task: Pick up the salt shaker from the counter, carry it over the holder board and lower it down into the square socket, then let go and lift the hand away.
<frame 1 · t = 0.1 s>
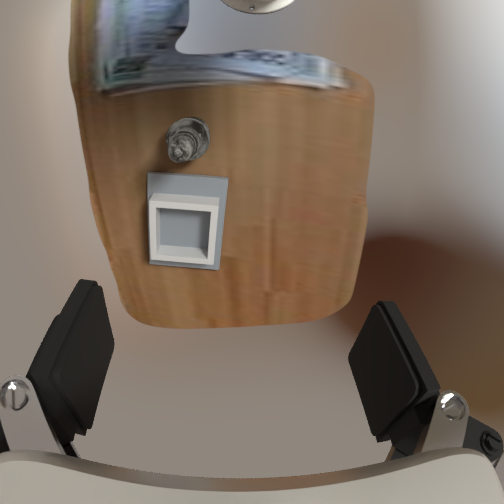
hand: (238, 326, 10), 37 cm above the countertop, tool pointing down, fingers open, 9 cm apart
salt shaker: (191, 134, 41), on the countertop
holder: (185, 221, 48), on the countertop
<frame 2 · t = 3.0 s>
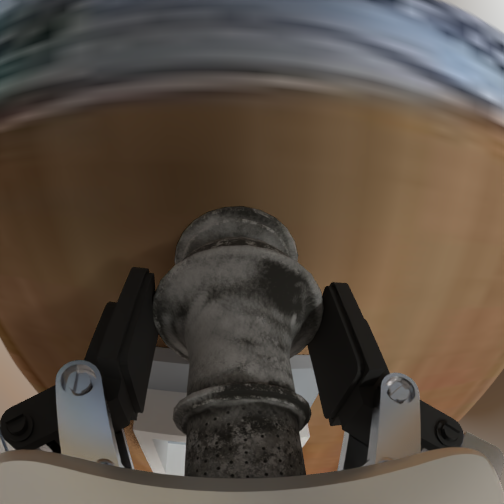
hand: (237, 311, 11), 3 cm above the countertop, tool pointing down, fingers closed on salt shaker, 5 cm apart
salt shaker: (236, 260, 13), on the countertop, touching gripper
holder: (218, 417, 20), on the countertop
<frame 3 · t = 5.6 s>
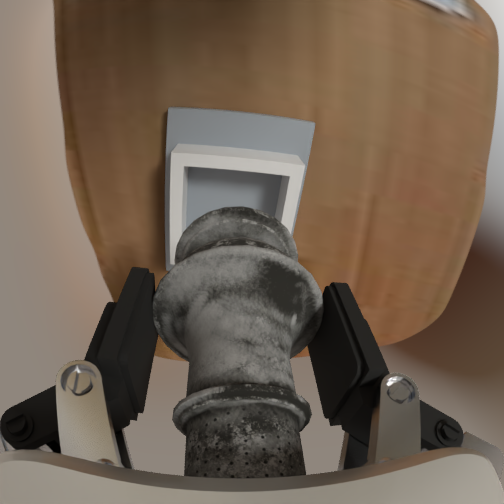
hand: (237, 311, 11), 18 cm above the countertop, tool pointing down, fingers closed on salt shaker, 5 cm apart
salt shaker: (236, 260, 13), point 15 cm above the countertop, touching gripper
holder: (232, 198, 28), on the countertop
when the fingers open (5 cm above the countertop, at t = 8.3 s): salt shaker drops 1 cm, resting on holder.
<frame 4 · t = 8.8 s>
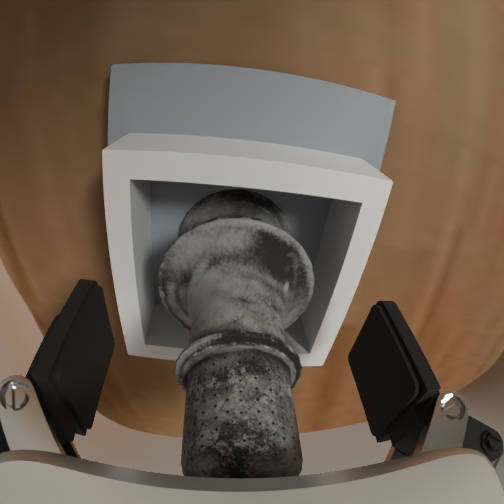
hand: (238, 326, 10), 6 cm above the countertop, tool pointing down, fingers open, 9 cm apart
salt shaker: (235, 240, 15), point 1 cm above the countertop, touching holder
holder: (235, 236, 15), on the countertop
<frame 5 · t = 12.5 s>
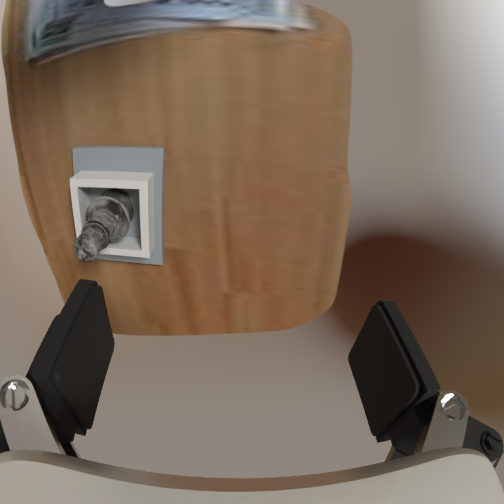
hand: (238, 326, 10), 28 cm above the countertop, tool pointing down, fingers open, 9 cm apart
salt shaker: (117, 206, 36), point 1 cm above the countertop, touching holder
holder: (119, 205, 37), on the countertop
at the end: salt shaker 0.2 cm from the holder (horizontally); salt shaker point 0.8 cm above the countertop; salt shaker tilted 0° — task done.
